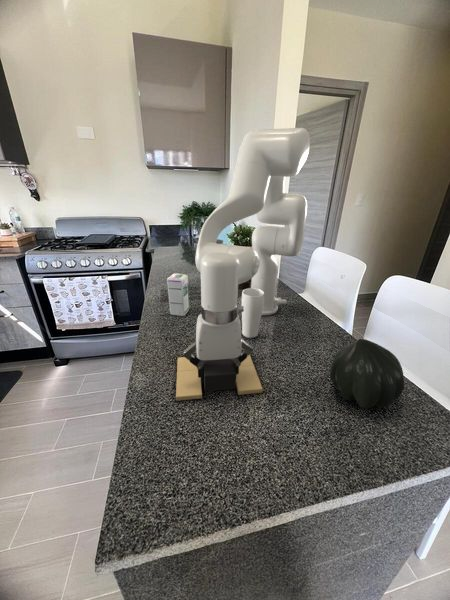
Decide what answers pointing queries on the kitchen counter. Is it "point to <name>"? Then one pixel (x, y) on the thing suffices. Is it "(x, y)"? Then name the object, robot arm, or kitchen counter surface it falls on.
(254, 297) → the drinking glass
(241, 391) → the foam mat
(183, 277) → the syrup box
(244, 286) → the coffee mug
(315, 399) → the kitchen counter surface
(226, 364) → the black block
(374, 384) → the squash
